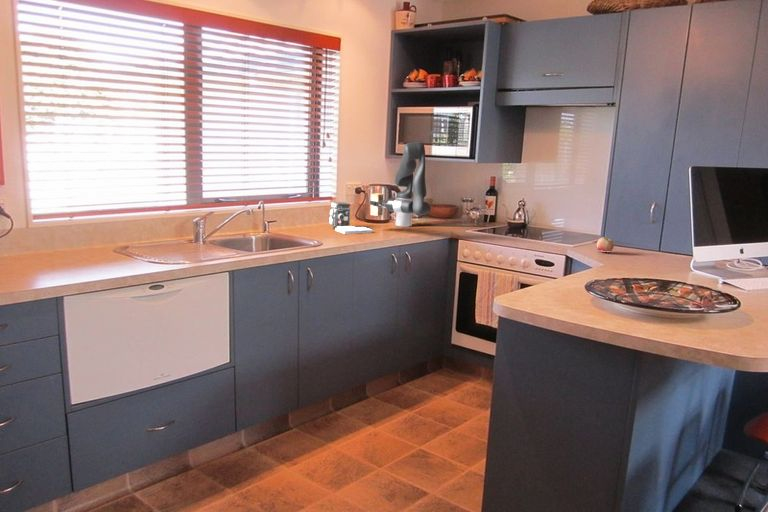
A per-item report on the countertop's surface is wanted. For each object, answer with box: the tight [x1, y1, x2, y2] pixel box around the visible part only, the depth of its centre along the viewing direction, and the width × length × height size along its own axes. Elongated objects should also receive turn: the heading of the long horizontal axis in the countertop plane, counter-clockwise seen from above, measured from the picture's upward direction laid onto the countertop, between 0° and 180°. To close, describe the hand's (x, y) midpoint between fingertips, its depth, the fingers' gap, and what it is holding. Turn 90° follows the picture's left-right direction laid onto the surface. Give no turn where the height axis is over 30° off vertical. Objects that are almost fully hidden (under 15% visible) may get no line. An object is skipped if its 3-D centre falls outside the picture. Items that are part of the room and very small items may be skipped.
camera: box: [328, 201, 351, 229], centre depth 354 cm, size 10×10×15 cm
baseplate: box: [334, 225, 374, 235], centre depth 346 cm, size 18×12×2 cm, turn 119°
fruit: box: [596, 236, 615, 252], centre depth 314 cm, size 8×8×8 cm
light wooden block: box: [370, 192, 384, 217], centre depth 353 cm, size 5×5×12 cm
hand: (373, 202), depth 354 cm, fingers closed on light wooden block, 5 cm apart
